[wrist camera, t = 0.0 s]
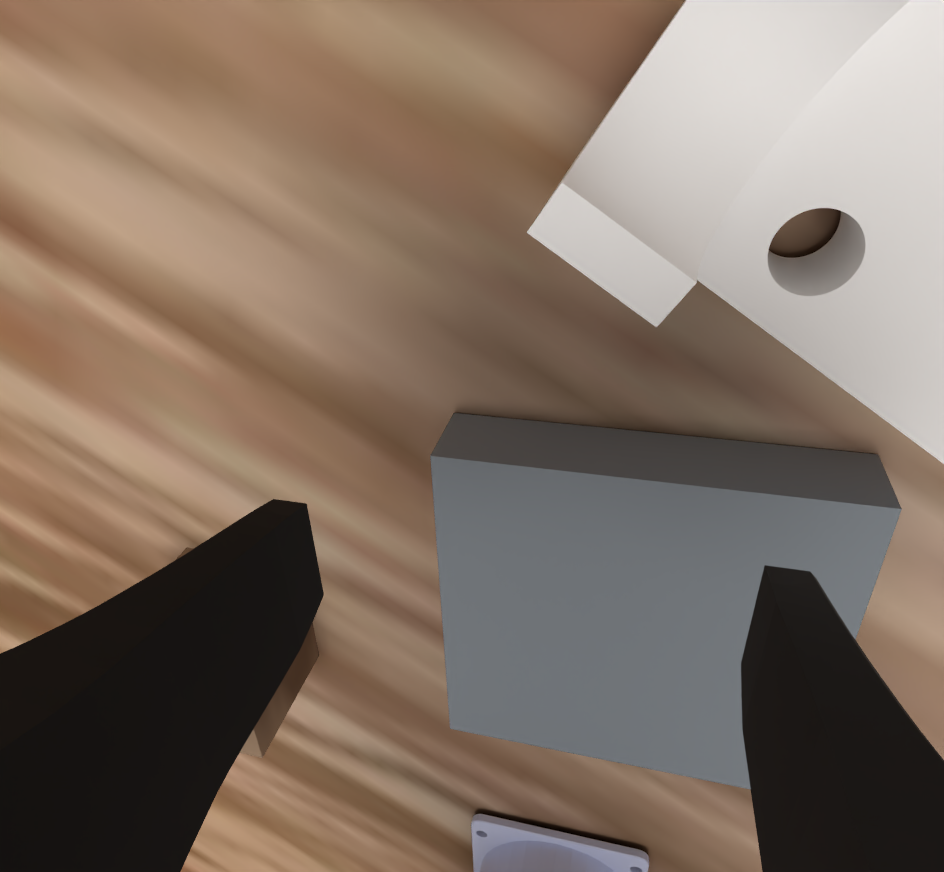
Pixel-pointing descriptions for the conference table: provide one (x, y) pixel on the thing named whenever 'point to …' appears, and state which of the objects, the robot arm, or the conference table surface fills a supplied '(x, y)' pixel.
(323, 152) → the conference table surface
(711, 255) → the bracket
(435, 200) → the conference table surface
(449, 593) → the base slab
